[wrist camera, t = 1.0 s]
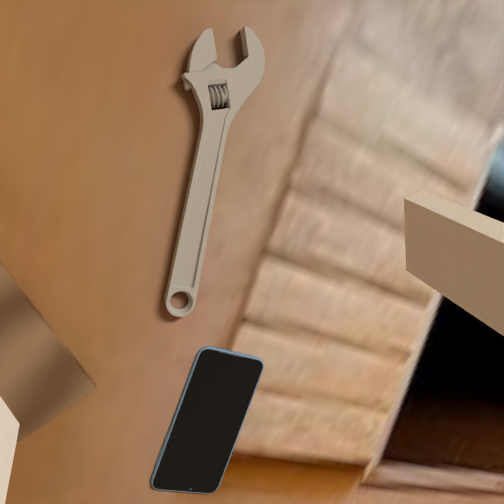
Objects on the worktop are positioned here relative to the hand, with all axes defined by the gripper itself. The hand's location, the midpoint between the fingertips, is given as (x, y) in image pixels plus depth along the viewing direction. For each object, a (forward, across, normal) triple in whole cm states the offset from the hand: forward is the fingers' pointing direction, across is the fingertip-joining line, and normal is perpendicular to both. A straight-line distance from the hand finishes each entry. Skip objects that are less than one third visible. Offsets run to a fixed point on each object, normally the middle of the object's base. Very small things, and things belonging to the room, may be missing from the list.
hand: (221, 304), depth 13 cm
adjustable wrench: (+26, +4, -4) cm, 26 cm away
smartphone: (+20, -2, -26) cm, 33 cm away
